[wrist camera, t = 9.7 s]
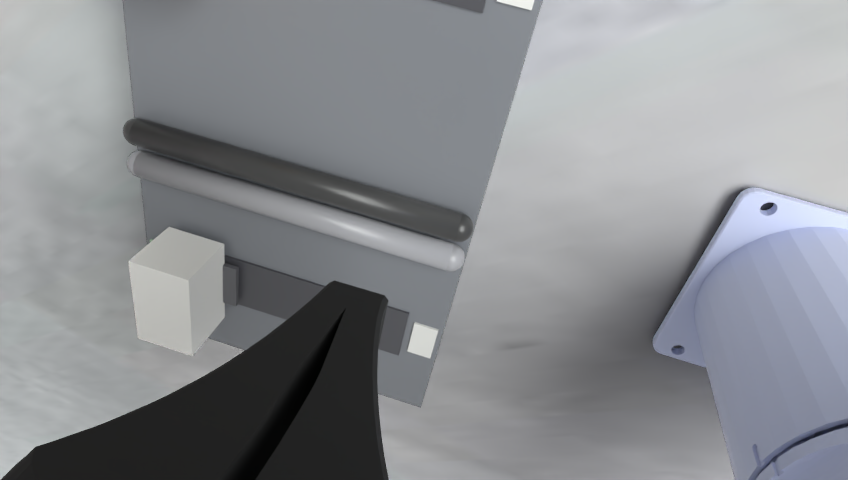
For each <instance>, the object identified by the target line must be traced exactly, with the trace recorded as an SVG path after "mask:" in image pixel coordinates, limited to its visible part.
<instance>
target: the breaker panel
mask: <svg viewBox="0 0 848 480" xmlns="http://www.w3.org/2000/svg"><path fill="white" fill-rule="evenodd" d="M542 1H543V0H123V9H124V19H125V29H126V38H127V48H128V58H129V68H130V78H131V88H132V98H133V108H134V118H133V119H130V120H129V121H127V122H126V124H125V125H124V127H123V134H124V137H125V139H126V140H127V141H128V142H129V143H131V144H132V145H135V146H137V148H138V151H135V152H133V153H131V154H130V156H129V157H128V159H127V167H128V170H129V171H130V172H131V173H132V174H133V175H135V176H137V177H140V178H141V187H142V197H143V207H144V217H145V227H146V237H147V245H148V244H149V243H150V242H151V241H153V240H154V239H155V238H156V237H157V236H158V235H160V234H161V233H162V232H163V231H164V230H166V229H167V228H168V227H172V228H175V229H178V230H181V231H185V232H188V233H191V234H194V235H197V236H201V237H204V238H207V239H210V240H213V241H217V242H220V243H223V244H224V260H225V263H227V264H230V265H233V266H237V267H239V289H238V305H237V306H233V305H230V304H227V303H225V318H224V319H223V320H222V321H221V322H220V324H219V325H218V326H217V327H216V329H215V330H214V331H213V332H212V333H211V335H210V336H209V337H208V338H210V339H213V340H216V341H219V342H222V343H225V344H228V345H231V346H234V347H237V348H240V349H243V350H247V349H248V348H249V347H251V346H252V345H254V344H255V343H257V342H258V341H259V340H261V339H262V338H264V337H265V336H267V335H268V334H269V333H271V332H272V331H273V330H274V329H276V328H277V327H278V326H280V325H281V324H282V323H283V322H285V321H286V320H287V319H288V318H290V317H291V316H292V315H294V314H295V313H296V312H297V311H298V310H300V309H301V308H302V307H303V306H304V305H305V304H307V303H308V302H309V301H310V300H311V299H312V298H313V297H315V296H316V295H317V294H318V293H319V292H320V291H321V290H322V289H323V288H324V287H325V286H326V285H327V284H328V283H330V282H332V281H334V280H335V281H338V282H342V283H345V284H348V285H352V286H355V287H358V288H362V289H365V290H369V291H372V292H375V293H379V294H382V295H385V296H386V298H387V299H388V305H387V310H386V315H385V319H384V324H383V329H382V334H381V338H380V343H379V348H378V366H377V384H378V394H381V395H384V396H387V397H390V398H393V399H396V400H399V401H402V402H405V403H408V404H411V405H414V406H417V407H421V405H422V401H423V398H424V395H425V391H426V388H427V385H428V382H429V378H430V375H431V372H432V369H433V365H434V362H435V359H436V355H437V352H438V349H439V345H440V342H441V339H442V335H443V332H444V329H445V325H446V322H447V318H448V315H449V312H450V308H451V305H452V302H453V298H454V295H455V292H456V288H457V285H458V282H459V278H460V275H461V272H462V268H463V265H464V262H465V258H466V255H467V252H468V248H469V245H470V242H471V238H472V235H473V232H474V228H475V225H476V221H477V218H478V215H479V211H480V208H481V205H482V201H483V198H484V195H485V191H486V188H487V185H488V181H489V178H490V175H491V171H492V168H493V165H494V161H495V158H496V155H497V151H498V148H499V145H500V141H501V138H502V135H503V131H504V128H505V124H506V121H507V118H508V114H509V111H510V108H511V104H512V101H513V98H514V94H515V91H516V88H517V84H518V81H519V78H520V74H521V71H522V68H523V64H524V61H525V58H526V54H527V51H528V48H529V44H530V41H531V37H532V34H533V31H534V27H535V24H536V21H537V17H538V14H539V11H540V7H541V4H542Z"/></svg>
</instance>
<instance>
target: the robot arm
mask: <svg viewBox="0 0 848 480" xmlns="http://www.w3.org/2000/svg"><path fill="white" fill-rule="evenodd" d="M768 202H773V203H774V205H773V206H772V207H771V208H770V209H768V210H761V209H760V208H761V206H762V205H763V204H765V203H768ZM387 305H388V299H387V298H386V296H385V295H382V294H379V293H375V292H372V291H369V290H365V289H362V288H358V287H355V286H352V285H348V284H345V283H342V282H338V281H335V280H334V281H332V282H330V283H328V284H327V285H326V286H325V287H324V288H323V289H322V290H321V291H320V292H319V293H318V294H317V295H316V296H315V297H313V298H312V299H311V300H310V301H309V302H308V303H307V304H305V305H304V306H303V307H302V308H301V309H300V310H298V311H297V312H296V313H295V314H294V315H292V316H291V317H290V318H288V319H287V320H286V321H285V322H283V323H282V324H281V325H280V326H278V327H277V328H276V329H274V330H273V331H272V332H271V333H269V334H268V335H267V336H265V337H264V338H262V339H261V340H259V341H258V342H257V343H255V344H254V345H252V346H251V347H249V348H248V349H247V350H245V351H244V352H242V353H241V354H239V355H238V356H236V357H235V358H233V359H232V360H230V361H228V362H227V363H225V364H224V365H222V366H220V367H219V368H217V369H215V370H214V371H212V372H210V373H208V374H207V375H205V376H203V377H201V378H200V379H198V380H196V381H194V382H192V383H190V384H188V385H186V386H185V387H183V388H181V389H179V390H177V391H175V392H173V393H171V394H169V395H167V396H165V397H163V398H161V399H159V400H157V401H155V402H153V403H150V404H148V405H146V406H143V407H141V408H139V409H136V410H134V411H132V412H129V413H127V414H125V415H122V416H120V417H118V418H115V419H113V420H111V421H108V422H106V423H103V424H101V425H98V426H96V427H93V428H90V429H87V430H84V431H81V432H78V433H76V434H73V435H70V436H67V437H64V438H61V439H58V440H55V441H53V442H50V443H47V444H43V445H40V446H37V447H35V448H34V449H33V450H32V451H31V452H30V453H29V454H28V455H27V456H26V457H24V458H23V459H22V460H21V461H20V462H19V463H17V464H16V465H15V466H14V467H13V468H12V469H11V470H10V471H9V472H8V473H7V474H6V475H5V476H4V477H3V478H2V479H1V480H389V479H388V474H387V469H386V464H385V458H384V452H383V444H382V437H381V428H380V419H379V406H378V384H377V366H378V348H379V343H380V338H381V334H382V329H383V324H384V319H385V315H386V310H387ZM652 342H653V347H654V350H655V351H656V352H658V353H660V354H663V355H666V356H669V357H672V358H676V359H679V360H682V361H685V362H689V363H692V364H695V365H698V366H702V367H705V368H707V372H708V376H709V380H710V384H711V388H712V392H713V396H714V399H715V403H716V407H717V411H718V415H719V419H720V423H721V427H722V430H723V434H724V438H725V442H726V446H727V450H728V454H729V458H730V462H731V465H732V469H733V473H734V477H735V480H848V213H847V212H843V211H839V210H836V209H832V208H829V207H825V206H822V205H818V204H814V203H811V202H807V201H804V200H800V199H796V198H793V197H789V196H786V195H782V194H779V193H775V192H771V191H768V190H764V189H761V188H754V187H753V188H748V189H745V190H744V191H742V192H741V193H740V194H739V195H738V196H737V198H736V199H735V201H734V203H733V204H732V206H731V208H730V209H729V211H728V213H727V214H726V216H725V218H724V219H723V221H722V223H721V224H720V226H719V228H718V230H717V231H716V233H715V235H714V236H713V238H712V240H711V241H710V243H709V245H708V246H707V248H706V250H705V251H704V253H703V255H702V256H701V258H700V260H699V261H698V263H697V265H696V266H695V268H694V270H693V272H692V273H691V275H690V277H689V278H688V280H687V282H686V283H685V285H684V287H683V288H682V290H681V292H680V293H679V295H678V297H677V298H676V300H675V302H674V303H673V305H672V307H671V308H670V310H669V312H668V314H667V315H666V317H665V319H664V320H663V322H662V324H661V325H660V327H659V329H658V330H657V332H656V334H655V335H654V337H653V340H652ZM676 345H680V346H682V347H681V348H673V347H674V346H676Z"/></svg>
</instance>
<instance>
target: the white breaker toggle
mask: <svg viewBox="0 0 848 480" xmlns="http://www.w3.org/2000/svg"><path fill="white" fill-rule="evenodd" d="M128 265H129V273H130V281H131V288H132V296H133V304H134V312H135V320H136V328H137V336H138V339H141V340H144V341H147V342H150V343H153V344H156V345H159V346H162V347H165V348H168V349H171V350H174V351H177V352H180V353H183V354H186V355H189V356H192V357H193V355H194V354H195V353H196V352H197V351H198V349H199V348H200V347H201V346H202V344H203V343H204V342H205V341H206V340H207V338H208V337H209V336H210V335H211V333H212V332H213V331H214V330H215V329H216V327H217V326H218V325H219V324H220V322H221V321H222V320H223V319H224V318H225V303H227V304H230V305H233V306H237V305H238V289H239V267H237V266H233V265H230V264H227V263H225V260H224V244H223V243H220V242H217V241H213V240H210V239H207V238H204V237H201V236H197V235H194V234H191V233H188V232H185V231H181V230H178V229H175V228H172V227H168V228H167V229H166V230H164V231H163V232H162V233H161V234H160V235H158V236H157V237H156V238H155V239H154V240H153V241H151V242H150V243H149V244H148V245H147V246H145V247H144V248H143V249H142V250H141V251H139V252H138V253H137V254H136V255H135V256H133V257H132V258H131V259H130V260H129V261H128Z"/></svg>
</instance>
